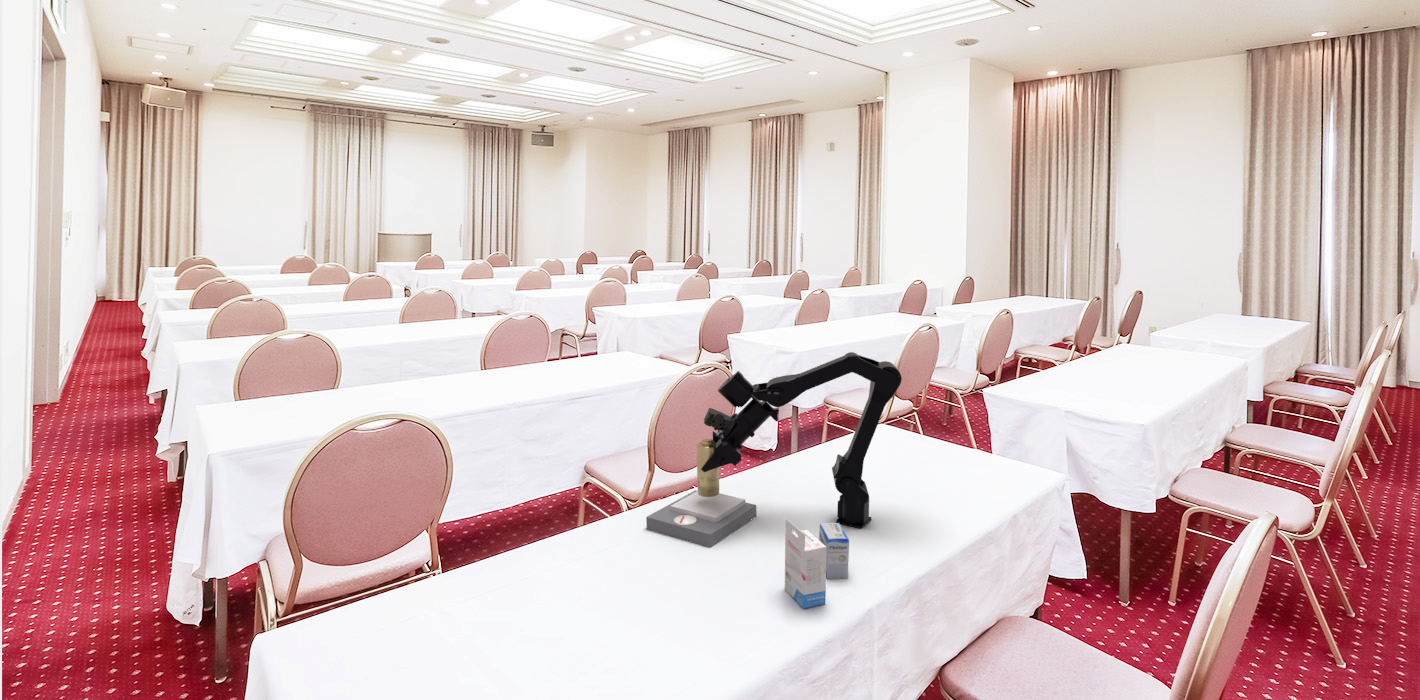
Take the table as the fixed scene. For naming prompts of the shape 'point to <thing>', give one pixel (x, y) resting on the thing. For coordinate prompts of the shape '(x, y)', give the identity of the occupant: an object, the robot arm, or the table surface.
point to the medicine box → (835, 550)
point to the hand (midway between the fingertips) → (702, 466)
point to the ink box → (805, 567)
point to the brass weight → (709, 479)
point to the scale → (702, 518)
